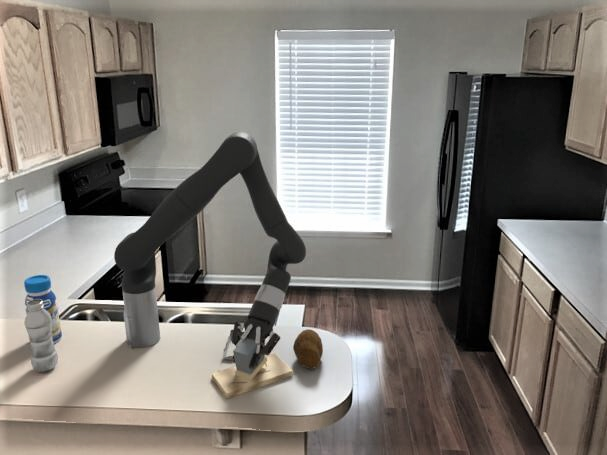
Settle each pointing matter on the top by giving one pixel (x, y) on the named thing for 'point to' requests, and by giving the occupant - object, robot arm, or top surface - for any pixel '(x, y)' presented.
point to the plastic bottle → (40, 336)
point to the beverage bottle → (44, 300)
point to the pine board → (266, 375)
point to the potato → (308, 348)
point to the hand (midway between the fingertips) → (243, 365)
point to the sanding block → (247, 359)
